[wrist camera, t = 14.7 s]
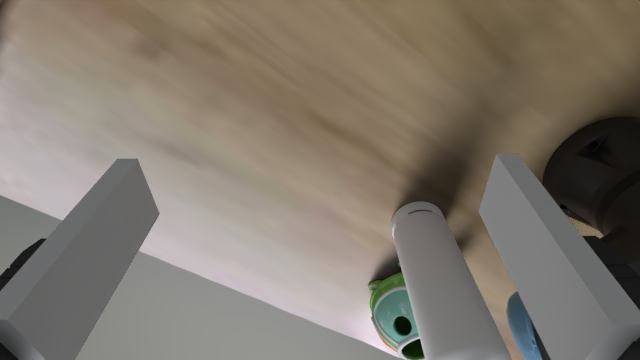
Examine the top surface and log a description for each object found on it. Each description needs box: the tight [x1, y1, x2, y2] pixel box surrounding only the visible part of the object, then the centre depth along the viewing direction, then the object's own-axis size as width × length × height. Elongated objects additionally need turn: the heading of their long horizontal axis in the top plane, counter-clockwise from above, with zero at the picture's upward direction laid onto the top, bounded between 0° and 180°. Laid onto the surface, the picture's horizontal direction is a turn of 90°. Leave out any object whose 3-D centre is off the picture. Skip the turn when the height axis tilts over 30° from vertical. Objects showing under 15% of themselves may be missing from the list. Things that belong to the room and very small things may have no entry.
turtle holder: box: [368, 262, 425, 360], centre depth 57 cm, size 12×18×12 cm
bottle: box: [391, 201, 511, 360], centre depth 43 cm, size 8×8×28 cm
